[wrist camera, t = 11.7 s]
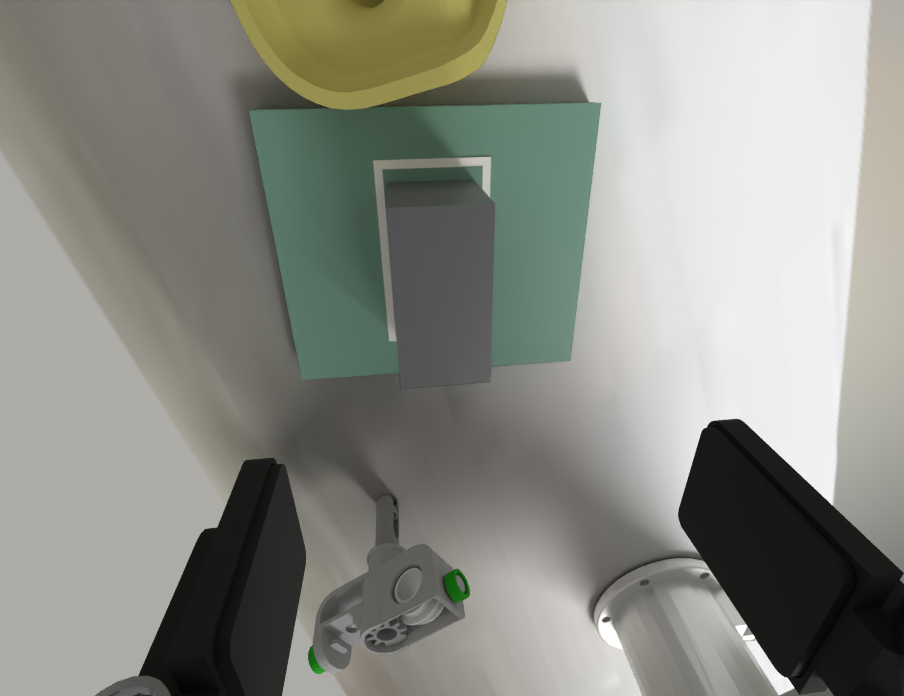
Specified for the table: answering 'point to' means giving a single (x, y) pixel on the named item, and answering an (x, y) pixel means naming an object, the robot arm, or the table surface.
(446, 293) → the block
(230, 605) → the robot arm
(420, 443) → the table surface
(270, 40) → the plastic component
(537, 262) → the board
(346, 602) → the mechanical component
